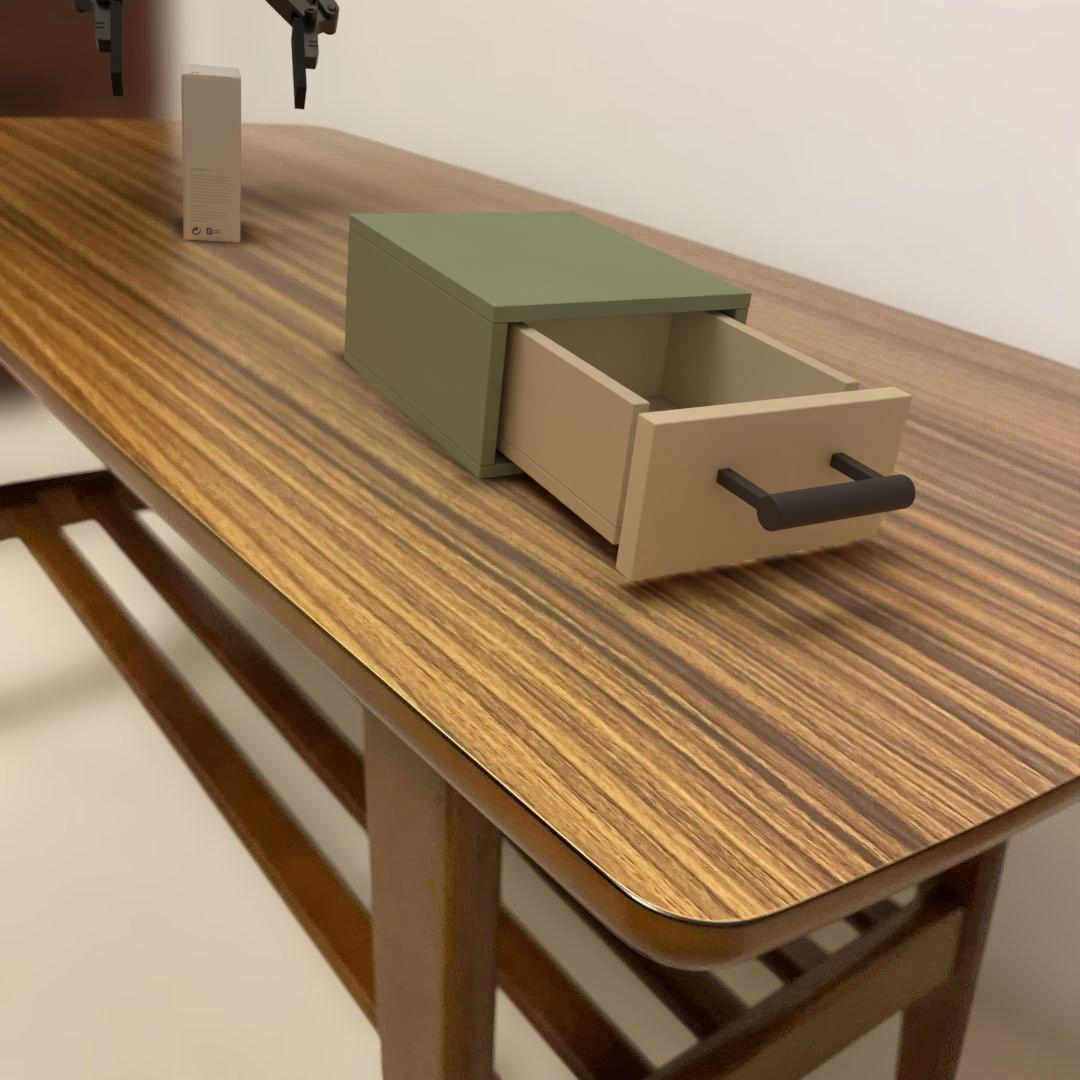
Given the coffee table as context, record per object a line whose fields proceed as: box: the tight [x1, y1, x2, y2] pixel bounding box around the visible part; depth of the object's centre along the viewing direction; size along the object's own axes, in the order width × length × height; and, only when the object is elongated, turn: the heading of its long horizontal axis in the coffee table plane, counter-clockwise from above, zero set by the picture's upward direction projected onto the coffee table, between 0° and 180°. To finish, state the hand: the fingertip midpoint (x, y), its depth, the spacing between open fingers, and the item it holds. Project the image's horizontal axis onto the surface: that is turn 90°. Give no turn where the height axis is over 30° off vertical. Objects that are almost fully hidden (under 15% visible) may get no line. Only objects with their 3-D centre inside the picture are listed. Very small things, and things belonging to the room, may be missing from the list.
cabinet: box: [343, 210, 753, 480], centre depth 67 cm, size 18×15×9 cm
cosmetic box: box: [180, 62, 242, 243], centre depth 93 cm, size 6×4×12 cm
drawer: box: [496, 310, 917, 582], centre depth 56 cm, size 21×13×7 cm, turn 29°
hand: (210, 92), depth 95 cm, fingers open, 13 cm apart
